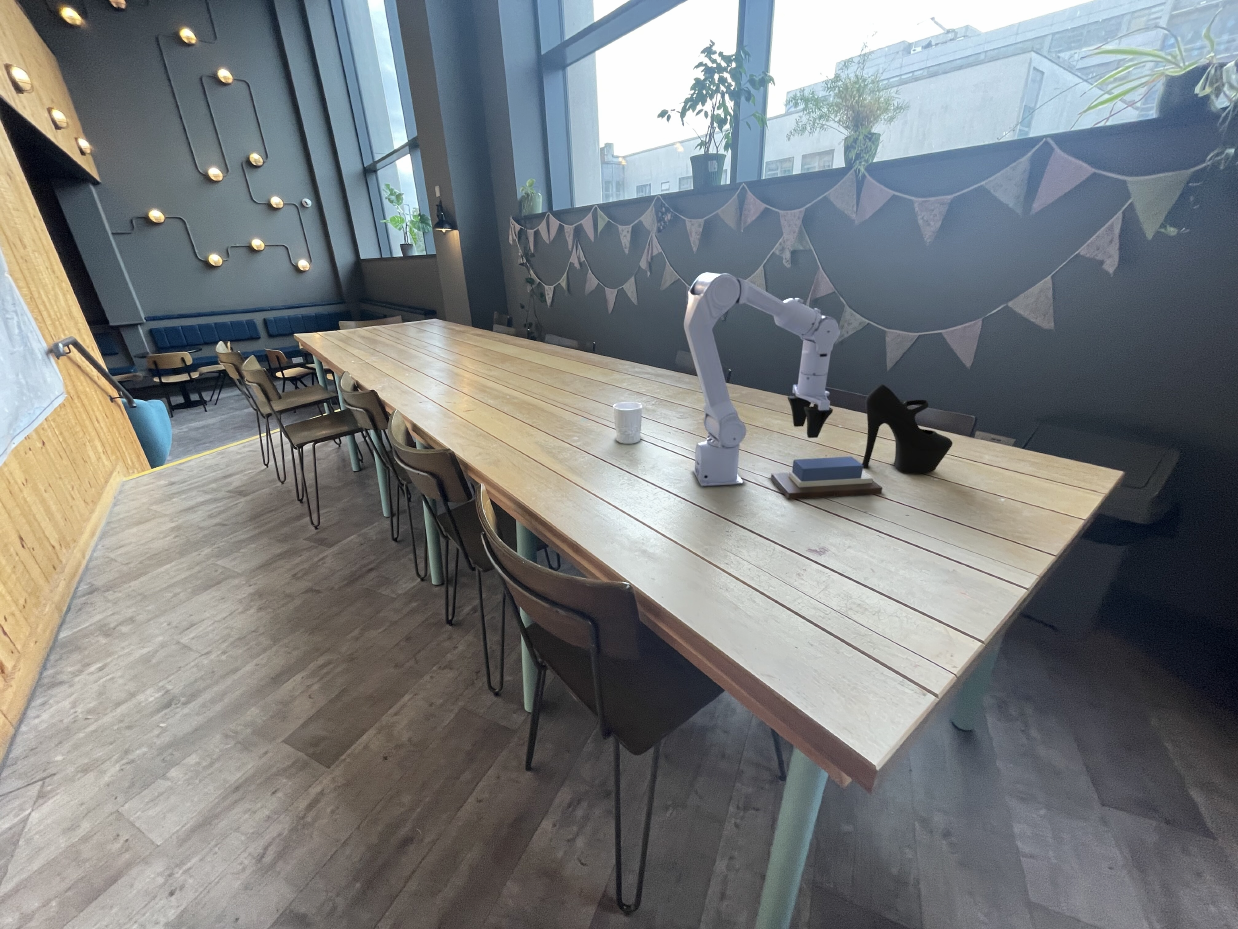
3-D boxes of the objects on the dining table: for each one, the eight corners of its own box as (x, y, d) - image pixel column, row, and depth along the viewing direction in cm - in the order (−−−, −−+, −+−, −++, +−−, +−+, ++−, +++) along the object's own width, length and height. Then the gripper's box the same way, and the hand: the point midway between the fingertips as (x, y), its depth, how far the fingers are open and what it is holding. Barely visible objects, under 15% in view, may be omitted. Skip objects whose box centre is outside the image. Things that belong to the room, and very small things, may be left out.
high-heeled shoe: (949, 477, 105) (974, 389, 97) (857, 472, 108) (874, 388, 100) (935, 463, 112) (957, 380, 104) (849, 459, 115) (864, 379, 107)
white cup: (642, 444, 129) (642, 409, 125) (614, 445, 129) (612, 410, 125) (642, 434, 136) (641, 401, 132) (615, 435, 136) (613, 401, 132)
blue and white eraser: (798, 487, 99) (801, 469, 97) (788, 476, 104) (790, 459, 102) (872, 483, 100) (875, 465, 98) (858, 472, 105) (861, 455, 103)
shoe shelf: (788, 499, 98) (789, 493, 97) (770, 479, 107) (771, 473, 106) (881, 494, 98) (882, 487, 98) (856, 474, 108) (857, 468, 107)
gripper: (848, 379, 96) (837, 441, 101) (816, 365, 109) (808, 420, 114) (814, 381, 95) (805, 443, 101) (786, 366, 109) (780, 422, 114)
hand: (805, 431), depth 107 cm, fingers open, 7 cm apart
